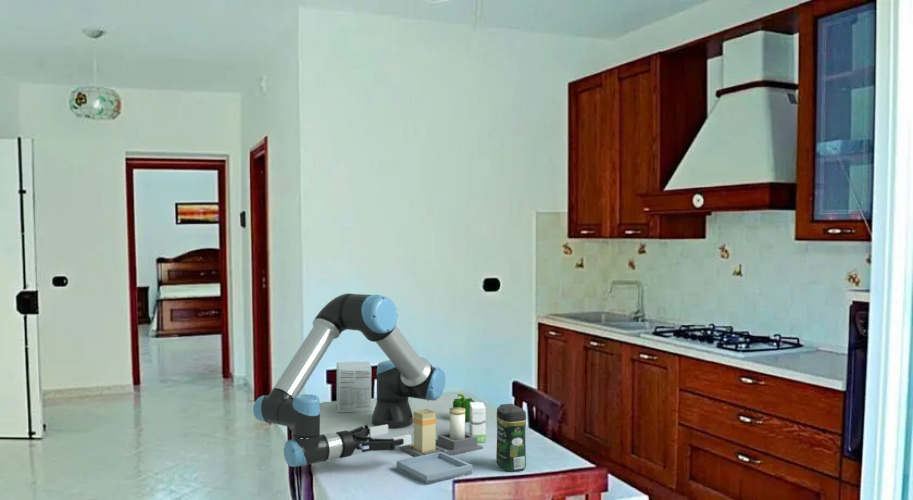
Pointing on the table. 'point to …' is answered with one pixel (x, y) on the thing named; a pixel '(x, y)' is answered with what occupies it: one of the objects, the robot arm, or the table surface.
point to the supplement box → (353, 386)
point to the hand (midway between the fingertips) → (398, 433)
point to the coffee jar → (511, 438)
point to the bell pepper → (463, 405)
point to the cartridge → (457, 423)
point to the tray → (434, 467)
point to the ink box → (478, 421)
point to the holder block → (448, 445)
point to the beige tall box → (424, 430)
